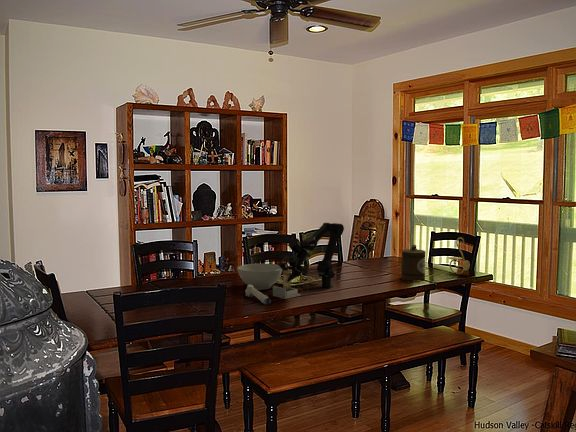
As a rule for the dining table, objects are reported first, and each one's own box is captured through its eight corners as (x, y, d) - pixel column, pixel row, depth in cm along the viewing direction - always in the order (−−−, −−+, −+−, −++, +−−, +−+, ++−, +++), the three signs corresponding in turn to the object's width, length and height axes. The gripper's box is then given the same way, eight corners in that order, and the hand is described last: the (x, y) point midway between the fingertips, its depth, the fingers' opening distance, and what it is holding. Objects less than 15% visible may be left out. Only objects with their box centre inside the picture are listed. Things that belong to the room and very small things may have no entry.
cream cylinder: (288, 291, 283) (288, 269, 282) (292, 292, 280) (291, 271, 279) (282, 291, 282) (282, 270, 281) (285, 293, 278) (285, 271, 277)
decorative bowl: (291, 285, 306) (291, 265, 305) (266, 294, 283) (266, 273, 282) (254, 281, 320) (254, 262, 319) (228, 289, 297) (228, 268, 296)
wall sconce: (470, 275, 338) (471, 237, 336) (461, 276, 333) (462, 238, 331) (453, 271, 349) (454, 235, 347) (444, 273, 344) (445, 236, 342)
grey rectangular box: (288, 292, 289) (288, 282, 288) (301, 295, 281) (301, 285, 281) (272, 295, 280) (272, 285, 280) (285, 299, 273) (285, 288, 273)
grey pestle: (263, 298, 260) (243, 282, 281) (262, 310, 261) (243, 294, 282) (272, 297, 262) (252, 281, 284) (271, 309, 263) (251, 293, 285)
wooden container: (424, 281, 317) (424, 246, 315) (400, 280, 322) (400, 245, 320) (425, 277, 331) (426, 243, 329) (402, 275, 336) (403, 242, 334)
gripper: (281, 247, 288) (266, 269, 282) (303, 251, 275) (288, 274, 268) (291, 259, 294) (277, 281, 288) (314, 264, 281) (299, 286, 274)
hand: (285, 280), depth 279 cm, fingers closed on cream cylinder, 4 cm apart
